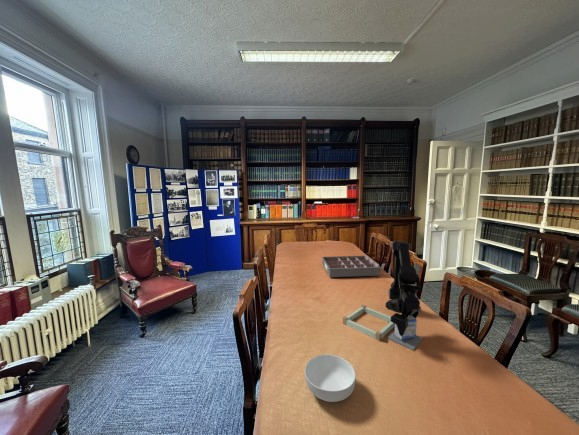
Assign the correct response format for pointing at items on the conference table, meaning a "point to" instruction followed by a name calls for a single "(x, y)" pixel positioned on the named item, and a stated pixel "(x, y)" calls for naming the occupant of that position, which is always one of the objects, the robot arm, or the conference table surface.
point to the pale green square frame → (367, 331)
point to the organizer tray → (351, 266)
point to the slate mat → (406, 341)
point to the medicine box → (408, 329)
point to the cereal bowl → (330, 377)
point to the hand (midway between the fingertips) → (405, 331)
